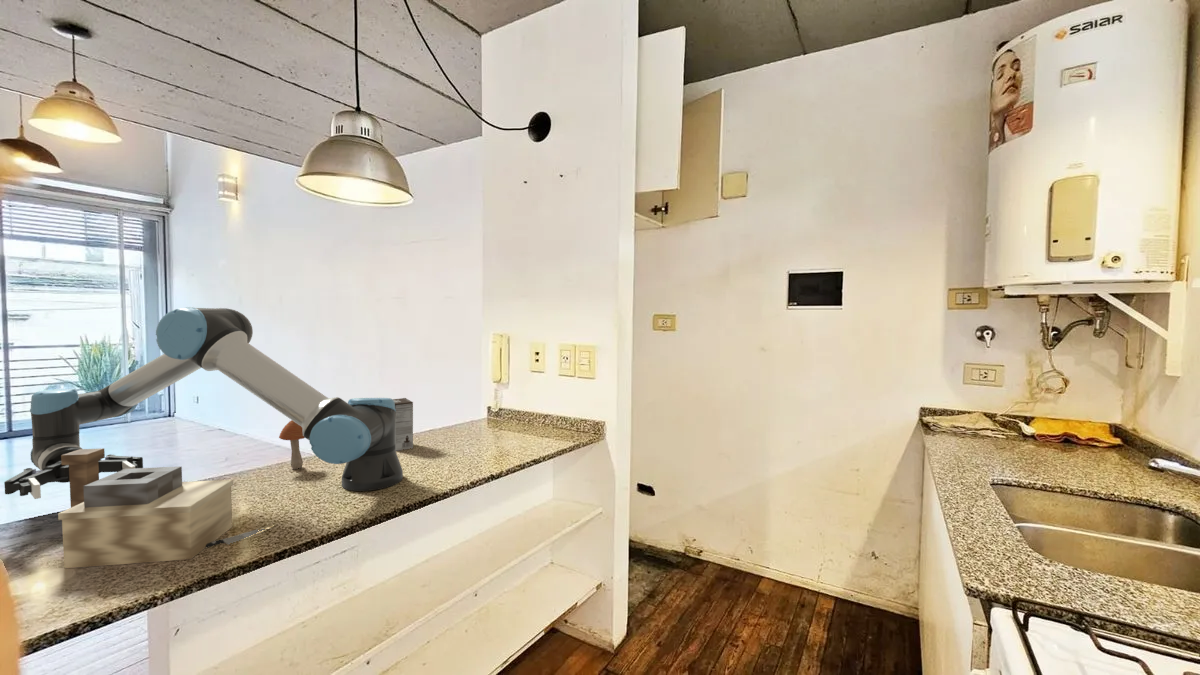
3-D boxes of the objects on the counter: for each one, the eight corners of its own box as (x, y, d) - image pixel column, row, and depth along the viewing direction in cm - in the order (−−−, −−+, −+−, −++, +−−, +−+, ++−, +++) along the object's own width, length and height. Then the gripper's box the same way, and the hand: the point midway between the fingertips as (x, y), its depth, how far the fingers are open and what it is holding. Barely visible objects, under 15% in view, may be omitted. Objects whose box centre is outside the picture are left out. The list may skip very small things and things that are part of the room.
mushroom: (285, 475, 138) (283, 422, 138) (275, 468, 144) (274, 418, 143) (315, 468, 144) (314, 418, 144) (305, 462, 150) (304, 414, 149)
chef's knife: (294, 526, 107) (287, 522, 109) (294, 521, 107) (287, 517, 109) (183, 561, 92) (178, 555, 93) (183, 555, 91) (178, 550, 93)
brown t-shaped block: (107, 526, 105) (104, 448, 104) (90, 536, 100) (86, 454, 99) (83, 528, 104) (79, 449, 103) (65, 537, 99) (61, 455, 99)
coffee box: (386, 445, 170) (386, 399, 169) (405, 442, 174) (405, 397, 173) (394, 451, 163) (394, 403, 162) (414, 448, 167) (413, 401, 166)
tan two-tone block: (234, 526, 106) (232, 461, 105) (191, 559, 91) (189, 485, 91) (123, 533, 102) (120, 465, 101) (60, 569, 87) (57, 491, 87)
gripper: (139, 465, 122) (167, 482, 110) (-22, 495, 101) (-9, 521, 90) (138, 435, 122) (166, 449, 110) (-24, 459, 101) (-11, 480, 89)
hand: (88, 481), depth 100 cm, fingers open, 13 cm apart
